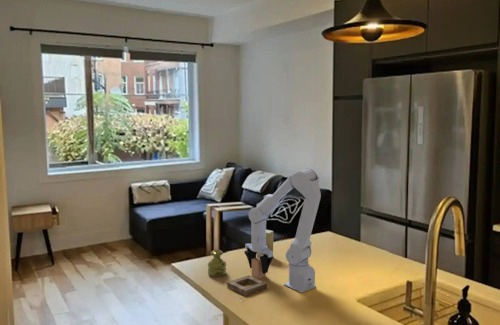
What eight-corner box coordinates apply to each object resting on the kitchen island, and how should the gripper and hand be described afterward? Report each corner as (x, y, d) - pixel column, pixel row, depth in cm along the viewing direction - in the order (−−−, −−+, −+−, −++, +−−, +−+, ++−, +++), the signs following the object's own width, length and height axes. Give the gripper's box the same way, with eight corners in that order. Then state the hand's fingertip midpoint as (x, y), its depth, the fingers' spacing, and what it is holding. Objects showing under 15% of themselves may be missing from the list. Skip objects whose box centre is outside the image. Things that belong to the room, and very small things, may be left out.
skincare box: (256, 257, 197) (256, 231, 196) (260, 254, 201) (260, 228, 200) (269, 259, 195) (269, 232, 193) (273, 257, 198) (273, 230, 197)
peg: (265, 276, 175) (265, 259, 175) (258, 278, 173) (258, 261, 172) (259, 273, 178) (259, 256, 178) (251, 276, 176) (251, 259, 175)
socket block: (267, 288, 163) (267, 283, 163) (245, 296, 157) (245, 290, 156) (248, 280, 171) (248, 275, 171) (227, 287, 165) (227, 282, 164)
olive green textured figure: (218, 278, 173) (217, 253, 172) (204, 274, 178) (203, 250, 177) (230, 272, 179) (229, 249, 178) (216, 269, 184) (215, 245, 182)
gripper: (278, 239, 171) (278, 272, 172) (254, 231, 182) (254, 263, 183) (265, 242, 166) (265, 277, 168) (241, 234, 177) (241, 267, 179)
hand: (258, 270), depth 175 cm, fingers open, 7 cm apart
